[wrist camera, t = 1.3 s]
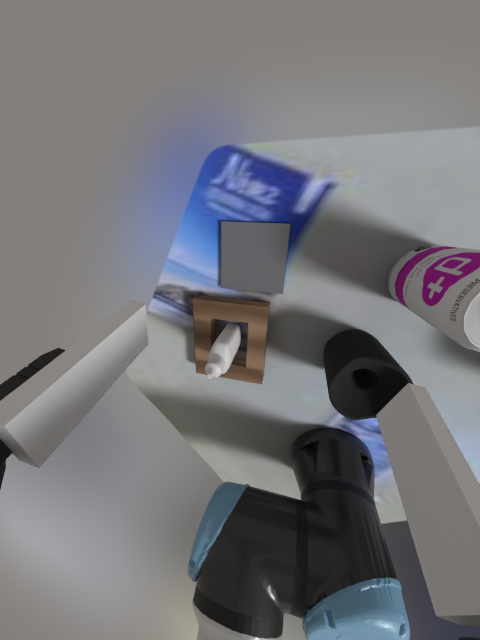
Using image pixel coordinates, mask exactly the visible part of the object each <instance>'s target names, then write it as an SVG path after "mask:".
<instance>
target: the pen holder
mask: <svg viewBox="0 0 480 640" xmlns="http://www.w3.org/2000/svg"><path fill="white" fill-rule="evenodd" d="M324 366H325V373H326V379H327V386H328V393H329V398H330V401H331V403H332V405H333V407H334V408H335V409H336V410H337V411H338V412H339V413H340V414H342V415H343V416H345V417H347V418H349V419H353V420H362V419H368V418H377V417H376V415H377V414H378V413H379V412H380V411H381V410H382V409H383V408H384V407H385V406H386V405H387V404H388V403H389V402H390V401H391V400H392V399H393V398H394V397H395V396H396V395H397V394H398V393H399V392H400V391H401V390H402V389H403V388H404V387H405V386H406V385H407V384H408V383H411V384H413V383H412V380H411V379H410V377H409V376H408V374H407V373H406V372H405V371H404V370H403V369H402V367H401V366H400V365H399V364H398V363H397V362H396V360H395V359H394V358H393V357H392V356H391V355H390V354H389V352H388V351H387V350H386V349H385V348H384V347H383V346H382V345H381V343H380V342H379V341H378V340H377V339H376V338H375V337H373V336H372V335H370V334H369V333H366V332H363V331H359V330H349V331H344V332H341V333H339V334H337V335H335V336H334V337H332V338H331V339H330V340H329V341H328V343H327V344H326V346H325V349H324Z"/></svg>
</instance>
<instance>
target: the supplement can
mask: <svg viewBox="0 0 480 640" xmlns="http://www.w3.org/2000/svg"><path fill="white" fill-rule="evenodd" d="M388 288H389V292H390V293H391V295H392V297H393V298H394V299H395V300H396V301H398V302H399V303H401V304H402V305H404V306H405V307H406V308H408V309H409V310H411V311H412V312H414V313H415V314H416V315H418V316H419V317H421V318H422V319H424V320H425V321H426V322H428V323H429V324H431V325H432V326H434V327H435V328H436V329H438V330H439V331H441V332H442V333H444V334H445V335H446V336H448V337H449V338H451V339H452V340H454V341H455V342H456V343H458V344H459V345H461V346H462V347H464V348H467V349H471V350H475V351H478V352H480V250H473V249H464V248H455V247H446V246H438V245H431V246H422V247H419V248H416V249H414V250H412V251H409V252H407V253H406V254H405V255H404V256H402V257H401V258H400V259H399V260H397V262H396V263H395V265H394V266H393V268H392V269H391V271H390V274H389V278H388Z"/></svg>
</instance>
